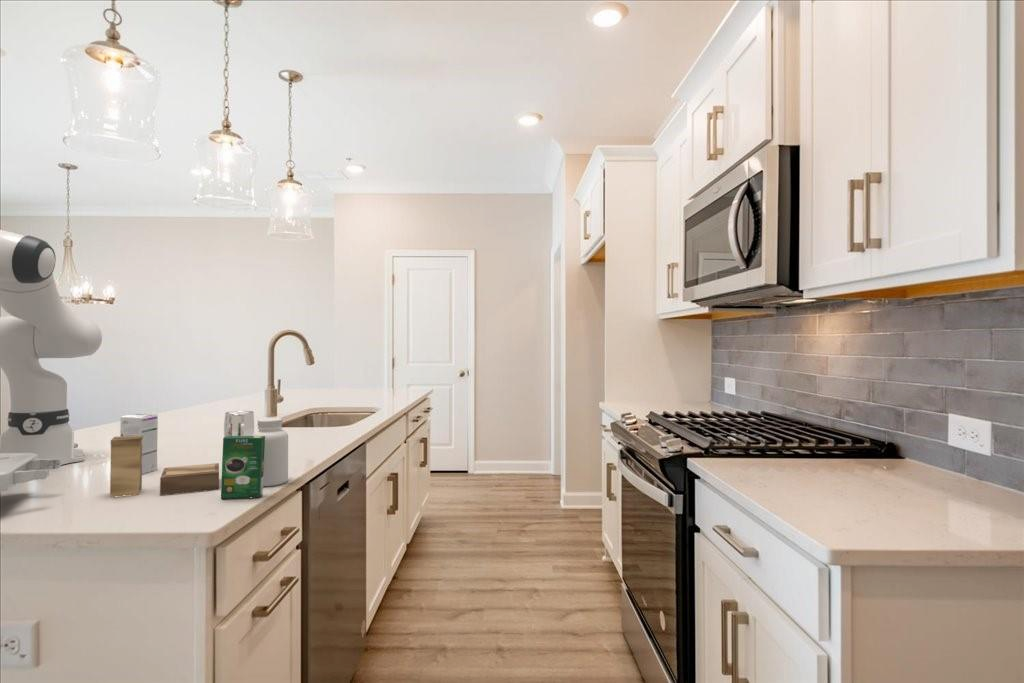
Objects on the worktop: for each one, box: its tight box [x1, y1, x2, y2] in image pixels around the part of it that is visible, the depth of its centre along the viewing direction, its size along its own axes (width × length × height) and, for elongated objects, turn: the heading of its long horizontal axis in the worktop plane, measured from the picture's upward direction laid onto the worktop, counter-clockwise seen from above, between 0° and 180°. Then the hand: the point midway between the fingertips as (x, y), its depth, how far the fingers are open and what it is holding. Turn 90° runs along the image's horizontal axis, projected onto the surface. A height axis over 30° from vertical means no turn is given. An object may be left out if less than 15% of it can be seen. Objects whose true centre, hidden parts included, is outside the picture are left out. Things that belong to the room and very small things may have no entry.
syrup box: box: [119, 413, 159, 475], centre depth 132 cm, size 6×6×14 cm
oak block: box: [109, 435, 143, 498], centre depth 114 cm, size 5×5×12 cm
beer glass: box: [223, 410, 255, 438], centre depth 135 cm, size 7×7×15 cm
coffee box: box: [220, 436, 265, 500], centre depth 113 cm, size 8×3×13 cm, turn 102°
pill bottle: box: [252, 417, 289, 487], centre depth 124 cm, size 8×8×15 cm
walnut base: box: [159, 462, 220, 496], centre depth 120 cm, size 10×11×4 cm
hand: (54, 468), depth 108 cm, fingers open, 8 cm apart
